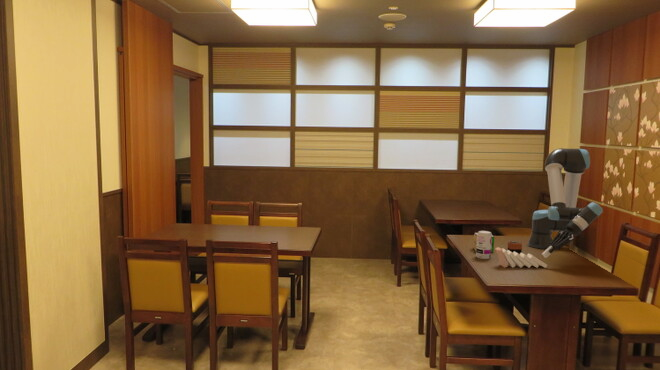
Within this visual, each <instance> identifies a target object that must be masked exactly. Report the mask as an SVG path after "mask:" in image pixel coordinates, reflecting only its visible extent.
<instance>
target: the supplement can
mask: <svg viewBox="0 0 660 370" xmlns="http://www.w3.org/2000/svg"><path fill="white" fill-rule="evenodd" d="M476 233H477V246H476V251H475V257H476V258H477V259H481V260H489V259H490V258H491V257H492V253H491V245H492V236H493V234H492V232H491V231H488V230H478V232H476Z"/></svg>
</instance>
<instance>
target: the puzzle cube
mask: <svg viewBox="0 0 660 370" xmlns="http://www.w3.org/2000/svg"><path fill="white" fill-rule="evenodd" d="M477 233H478V232H474V234H473V243H472V244H473V249H474V251H475V252H476V246H477ZM494 245H495V236H494V235H492V245H491V254H493V253H494V250H495V248H494Z"/></svg>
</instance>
